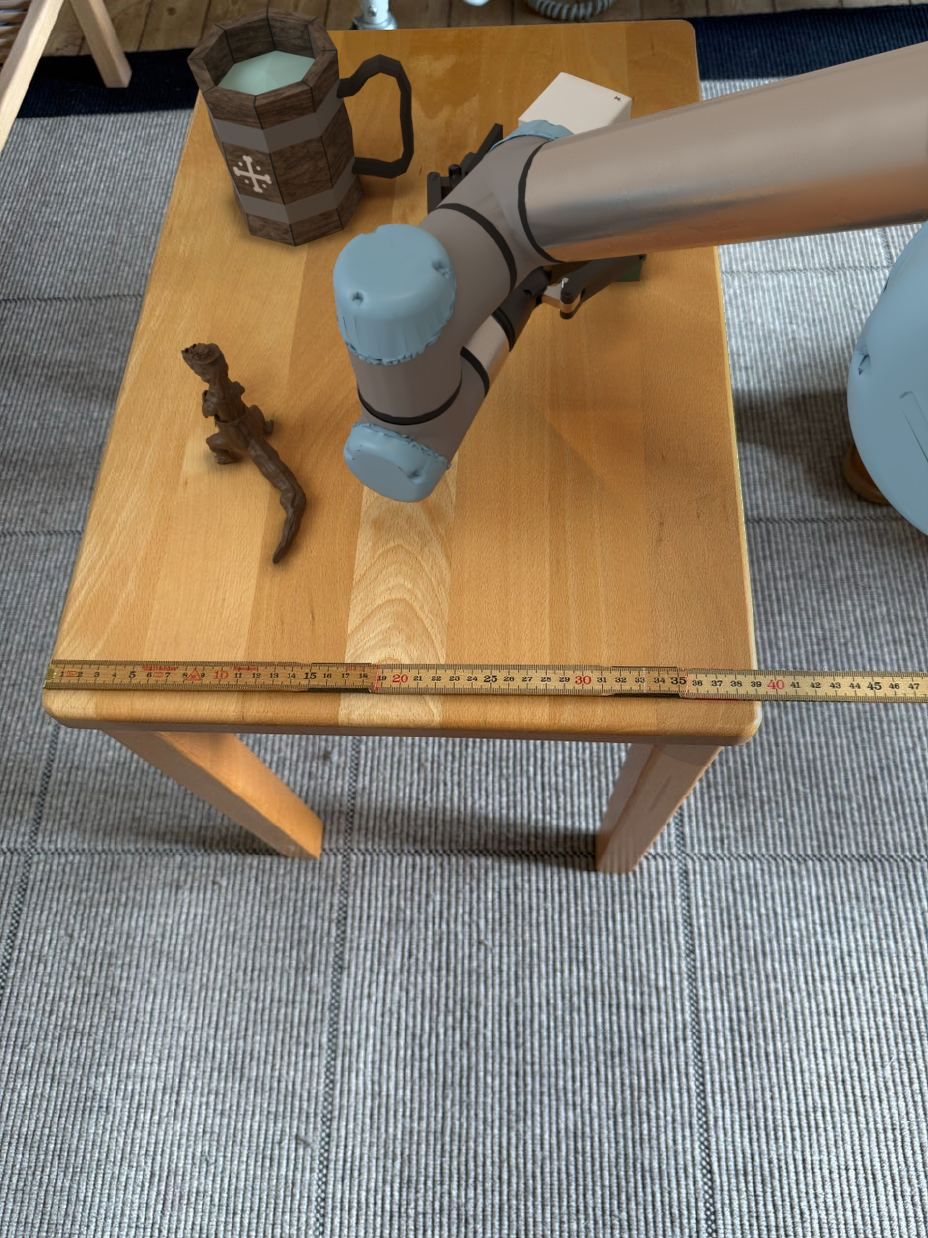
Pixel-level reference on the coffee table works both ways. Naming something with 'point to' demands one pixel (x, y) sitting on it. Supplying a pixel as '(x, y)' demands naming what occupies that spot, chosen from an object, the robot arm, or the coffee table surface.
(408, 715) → the coffee table surface
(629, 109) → the white packaging box
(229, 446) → the brown dinosaur figurine
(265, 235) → the mug
